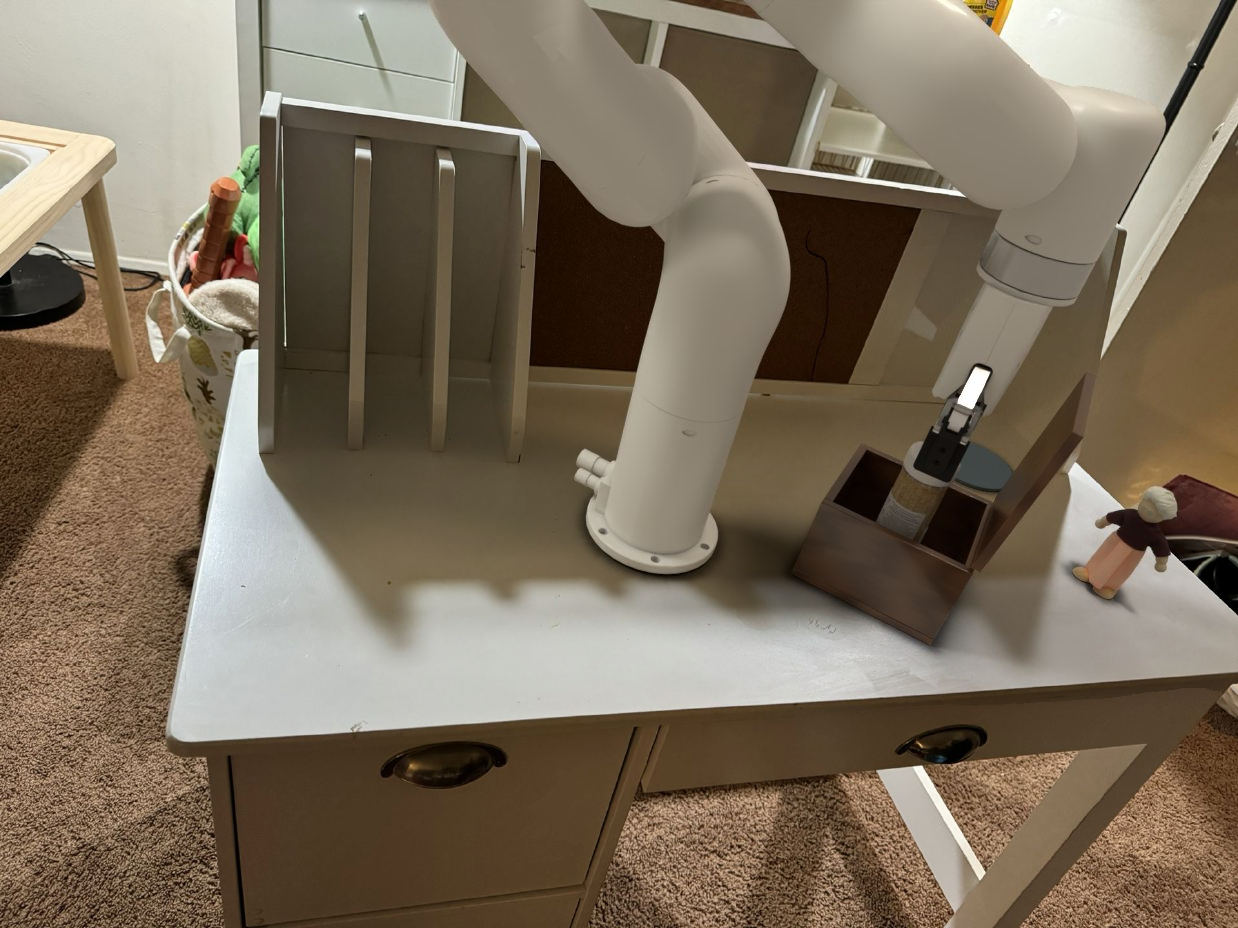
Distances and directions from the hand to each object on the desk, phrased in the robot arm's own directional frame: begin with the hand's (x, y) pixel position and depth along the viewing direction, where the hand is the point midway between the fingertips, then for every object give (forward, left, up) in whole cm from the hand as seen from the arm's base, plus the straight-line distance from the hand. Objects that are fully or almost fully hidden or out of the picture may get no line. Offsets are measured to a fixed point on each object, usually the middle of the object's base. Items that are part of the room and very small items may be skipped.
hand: (943, 449), depth 75 cm
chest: (0, 0, -15) cm, 15 cm away
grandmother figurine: (+20, +15, -15) cm, 29 cm away
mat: (+4, +28, -15) cm, 32 cm away
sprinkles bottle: (0, 0, -14) cm, 14 cm away
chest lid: (+7, 0, +2) cm, 7 cm away
